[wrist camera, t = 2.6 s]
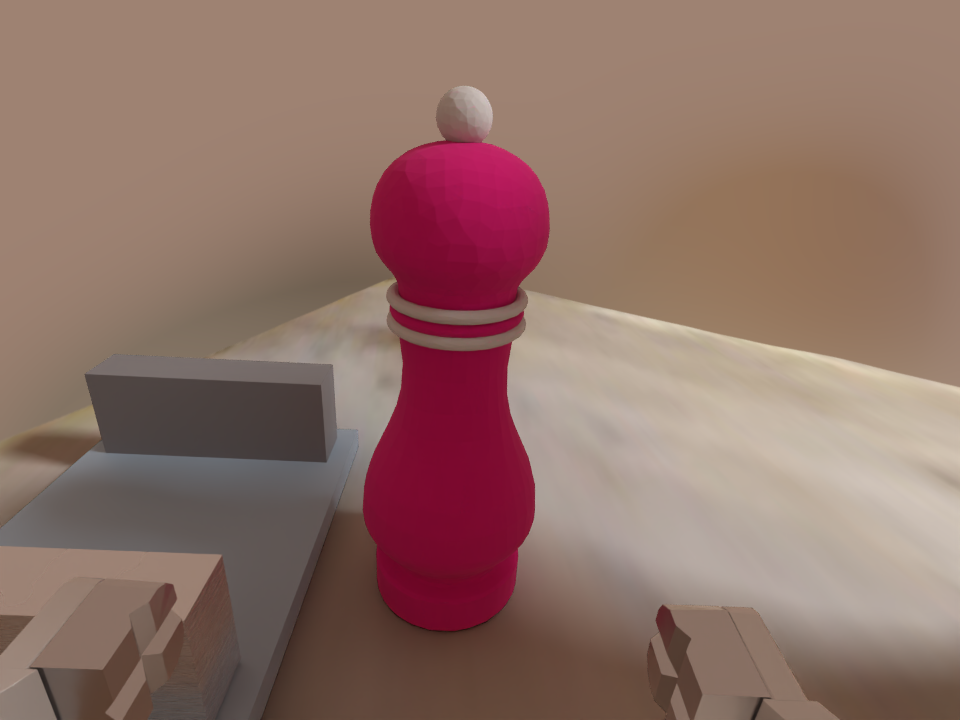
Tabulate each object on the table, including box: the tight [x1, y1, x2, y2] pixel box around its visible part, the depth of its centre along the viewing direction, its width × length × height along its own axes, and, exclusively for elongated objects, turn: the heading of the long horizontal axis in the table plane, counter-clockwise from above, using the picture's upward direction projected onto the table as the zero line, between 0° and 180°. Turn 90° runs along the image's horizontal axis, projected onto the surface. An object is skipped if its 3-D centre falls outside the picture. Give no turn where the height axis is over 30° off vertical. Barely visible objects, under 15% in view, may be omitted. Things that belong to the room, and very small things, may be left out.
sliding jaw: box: [0, 546, 241, 720], centre depth 17 cm, size 12×2×5 cm, turn 90°
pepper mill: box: [363, 86, 550, 631], centre depth 21 cm, size 7×7×20 cm
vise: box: [0, 354, 358, 720], centre depth 24 cm, size 14×20×6 cm
